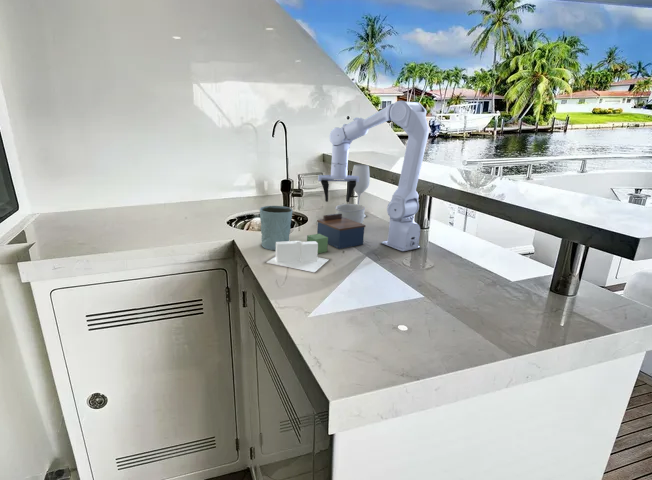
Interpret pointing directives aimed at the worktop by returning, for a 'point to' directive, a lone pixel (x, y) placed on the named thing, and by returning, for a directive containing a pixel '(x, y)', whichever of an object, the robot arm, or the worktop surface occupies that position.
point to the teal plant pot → (275, 225)
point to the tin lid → (339, 222)
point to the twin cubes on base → (298, 255)
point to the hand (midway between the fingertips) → (337, 201)
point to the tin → (342, 236)
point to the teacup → (351, 212)
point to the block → (319, 241)
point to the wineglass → (361, 179)
